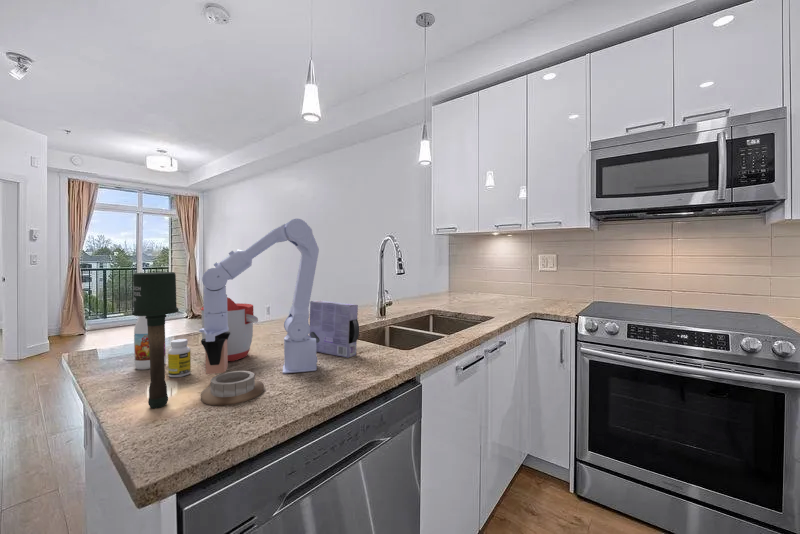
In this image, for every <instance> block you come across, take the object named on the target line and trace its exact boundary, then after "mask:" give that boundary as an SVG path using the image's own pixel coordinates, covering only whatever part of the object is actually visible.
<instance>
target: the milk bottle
mask: <svg viewBox="0 0 800 534" xmlns="http://www.w3.org/2000/svg"><path fill="white" fill-rule="evenodd" d="M145 317H146V316H138V318H137V321H136V322H135V324H134V329H133V352H134V358H133V359H134V368H135V369H136V370H145V371H146V370H150V345H149V342H148V326H147V319H146V318H145ZM166 358H167V357H166V340H165V341H164V364H165V365H166V360H167V359H166Z"/></svg>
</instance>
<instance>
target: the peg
mask: <svg viewBox="0 0 800 534" xmlns="http://www.w3.org/2000/svg"><path fill="white" fill-rule="evenodd" d="M204 351H205V353H204V354H205V355H204V356H205V375H211V374H212V375H214V374H222V373H226V371H227V369H228V365H229V361H228V353H227V339H226V340H225V342H224V344H223V347H222V351H221V359H220V363H219V365H210V363H209V359H208V356H207V352H206V350H205V349H204Z"/></svg>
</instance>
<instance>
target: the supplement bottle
mask: <svg viewBox="0 0 800 534" xmlns="http://www.w3.org/2000/svg"><path fill="white" fill-rule="evenodd" d="M188 341H189V340H188V339H187V338H179V339H173V340H171V341H170V347H171V348H170V349H168V351H167V373H168V374H167V375H168V377H170V378H181V377H185V376H188V375H190V374H191V371H192V369H191V368H192V367H191V364H192V363H191V362H192V361H191V348H190V347H189V346H188V345H189V344H188Z"/></svg>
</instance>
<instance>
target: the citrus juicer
mask: <svg viewBox="0 0 800 534" xmlns="http://www.w3.org/2000/svg"><path fill="white" fill-rule="evenodd" d="M200 310H201V329H202V328H204V306H202V307H201V308H200ZM227 311H228V327H229V330H228V331H227V332H230V335H229V338H228V340H227V353H228V362H236V361H237V360H240V359H244V358H246V357H247V356H248V355H249V352H250V350H251V345H252V342H253V336H254V335H253V333H254V324H256V323H257V324H258V322H259V319H258V317H257V315H254V304H251V303H238V302H237V303H235V301H234V300H232V298H230V297H228V296H227ZM201 338H202V339H206V335H205V334H204V332H201ZM202 339H201V340H202ZM203 349H204V350H205V348H204V347H203ZM235 360H236V361H235Z"/></svg>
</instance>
